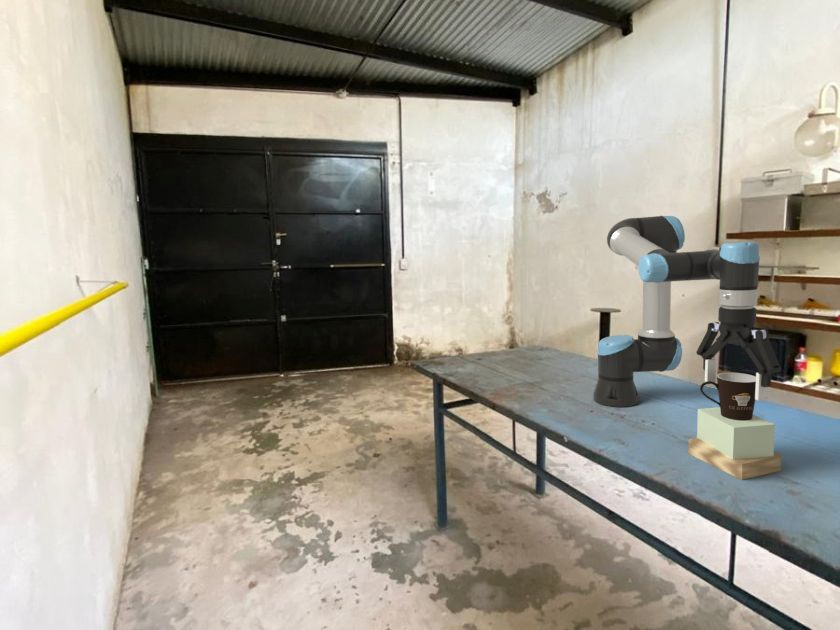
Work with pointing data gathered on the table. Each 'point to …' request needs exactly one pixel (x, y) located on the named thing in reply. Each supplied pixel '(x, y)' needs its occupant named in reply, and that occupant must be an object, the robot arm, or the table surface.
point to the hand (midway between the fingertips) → (734, 391)
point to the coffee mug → (735, 395)
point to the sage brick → (736, 434)
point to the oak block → (734, 461)
